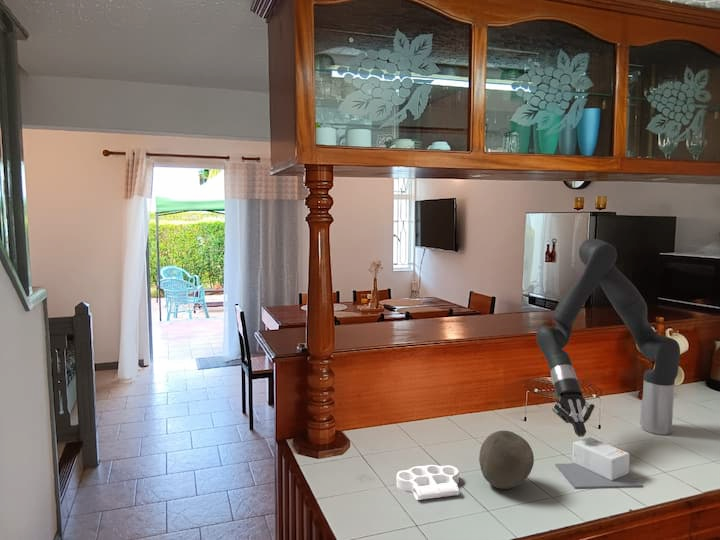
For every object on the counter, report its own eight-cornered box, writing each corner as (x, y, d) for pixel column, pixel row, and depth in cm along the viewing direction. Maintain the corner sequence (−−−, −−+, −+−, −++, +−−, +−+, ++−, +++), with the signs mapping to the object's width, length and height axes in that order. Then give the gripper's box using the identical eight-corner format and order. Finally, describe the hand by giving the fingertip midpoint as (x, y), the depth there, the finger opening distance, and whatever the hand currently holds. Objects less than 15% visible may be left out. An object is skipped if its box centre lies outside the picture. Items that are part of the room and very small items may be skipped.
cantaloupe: (504, 504, 131) (505, 449, 130) (468, 480, 144) (469, 429, 142) (543, 490, 138) (544, 438, 136) (506, 468, 150) (507, 419, 149)
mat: (555, 465, 152) (555, 463, 152) (617, 463, 152) (617, 462, 152) (574, 488, 139) (574, 486, 139) (642, 486, 139) (642, 485, 139)
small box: (571, 462, 153) (611, 481, 141) (572, 442, 152) (612, 459, 141) (589, 456, 157) (629, 474, 145) (590, 436, 156) (630, 452, 145)
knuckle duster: (406, 505, 132) (391, 477, 146) (470, 497, 136) (450, 470, 150) (406, 493, 132) (391, 466, 146) (470, 485, 135) (450, 459, 150)
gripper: (548, 377, 158) (564, 431, 147) (590, 376, 158) (608, 430, 148) (541, 388, 164) (555, 440, 153) (581, 387, 164) (599, 439, 153)
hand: (581, 435), depth 150 cm, fingers closed
